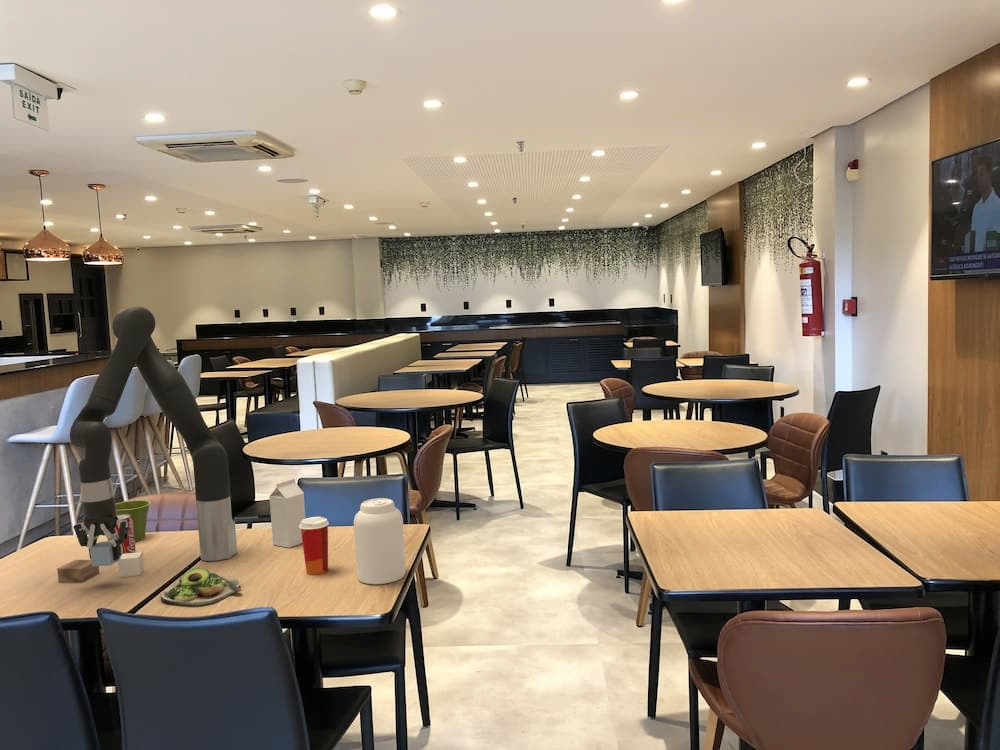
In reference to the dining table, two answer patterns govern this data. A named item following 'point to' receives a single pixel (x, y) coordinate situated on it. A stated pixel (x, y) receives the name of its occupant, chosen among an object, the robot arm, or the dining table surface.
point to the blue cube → (102, 554)
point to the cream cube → (131, 564)
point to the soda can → (130, 543)
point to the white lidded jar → (379, 542)
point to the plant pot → (135, 515)
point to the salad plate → (200, 588)
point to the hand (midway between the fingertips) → (106, 559)
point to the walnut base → (77, 571)
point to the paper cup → (315, 544)
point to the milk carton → (287, 514)
